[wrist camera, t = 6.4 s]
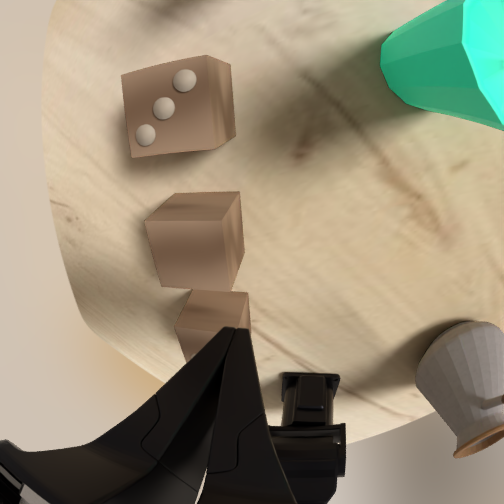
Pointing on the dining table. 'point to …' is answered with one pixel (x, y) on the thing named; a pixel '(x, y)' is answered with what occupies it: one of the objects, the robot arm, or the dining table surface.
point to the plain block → (197, 240)
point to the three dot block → (179, 106)
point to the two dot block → (210, 317)
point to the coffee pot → (466, 383)
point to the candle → (451, 61)
